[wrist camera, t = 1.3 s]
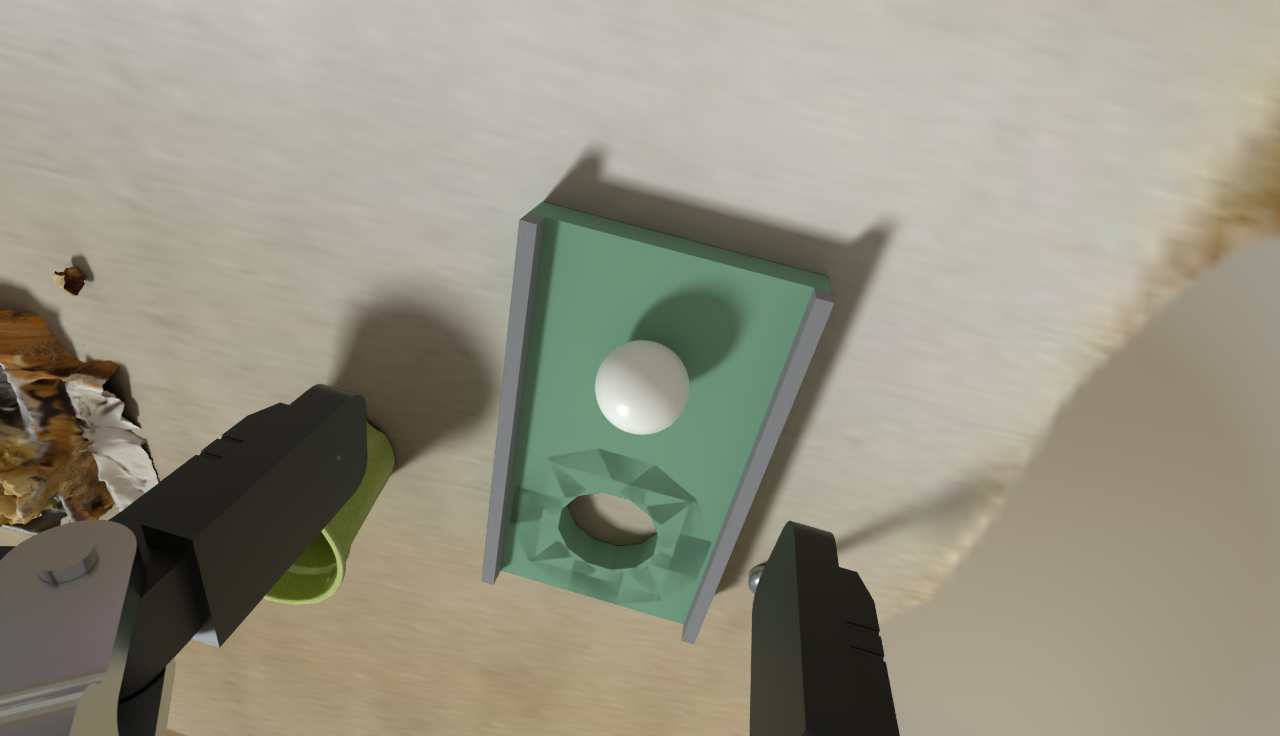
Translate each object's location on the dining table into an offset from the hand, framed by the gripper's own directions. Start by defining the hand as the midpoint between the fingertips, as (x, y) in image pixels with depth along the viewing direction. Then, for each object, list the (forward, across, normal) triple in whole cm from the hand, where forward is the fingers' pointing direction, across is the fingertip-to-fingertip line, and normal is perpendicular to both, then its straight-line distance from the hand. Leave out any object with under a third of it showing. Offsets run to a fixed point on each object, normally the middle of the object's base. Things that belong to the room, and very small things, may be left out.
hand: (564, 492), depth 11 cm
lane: (+20, 0, +14) cm, 24 cm away
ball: (+16, 0, +8) cm, 17 cm away
